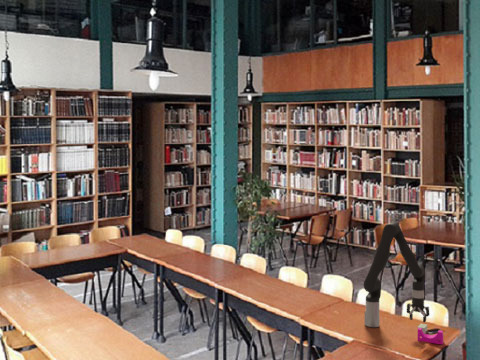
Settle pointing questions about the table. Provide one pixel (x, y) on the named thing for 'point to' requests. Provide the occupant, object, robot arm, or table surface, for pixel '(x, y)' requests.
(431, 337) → the toy block
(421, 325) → the green brick
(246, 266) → the table surface
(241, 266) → the table surface
